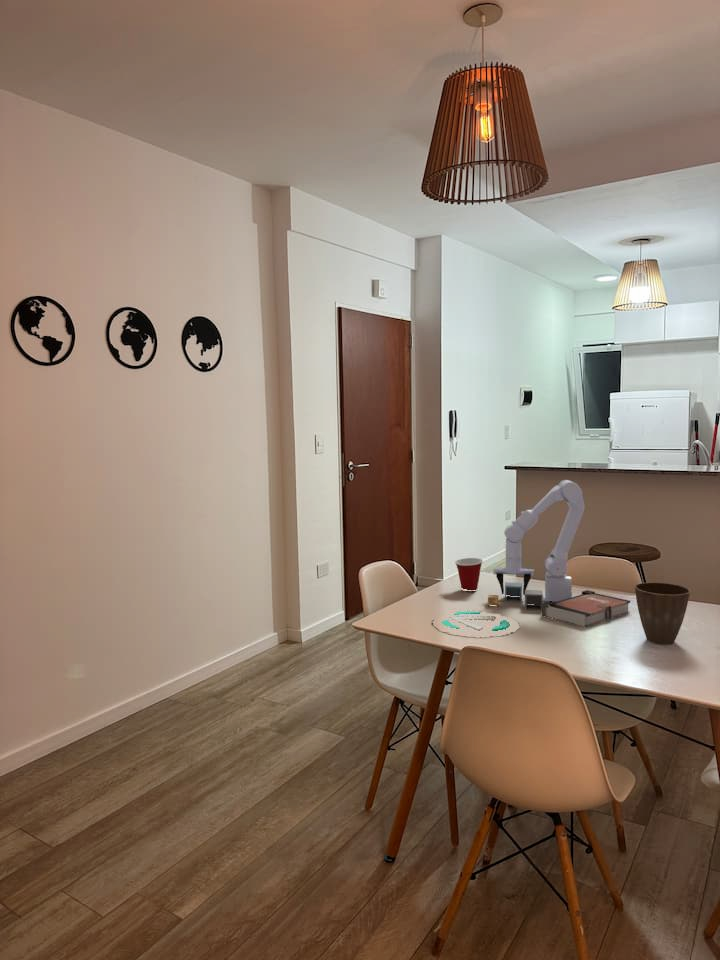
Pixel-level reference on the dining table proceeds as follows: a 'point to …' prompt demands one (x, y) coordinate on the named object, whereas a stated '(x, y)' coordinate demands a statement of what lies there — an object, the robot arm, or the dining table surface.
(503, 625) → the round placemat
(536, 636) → the dining table surface
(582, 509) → the robot arm
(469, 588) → the plastic cup
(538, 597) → the cover
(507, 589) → the cover
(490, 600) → the cube
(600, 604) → the book
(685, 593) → the plant pot
